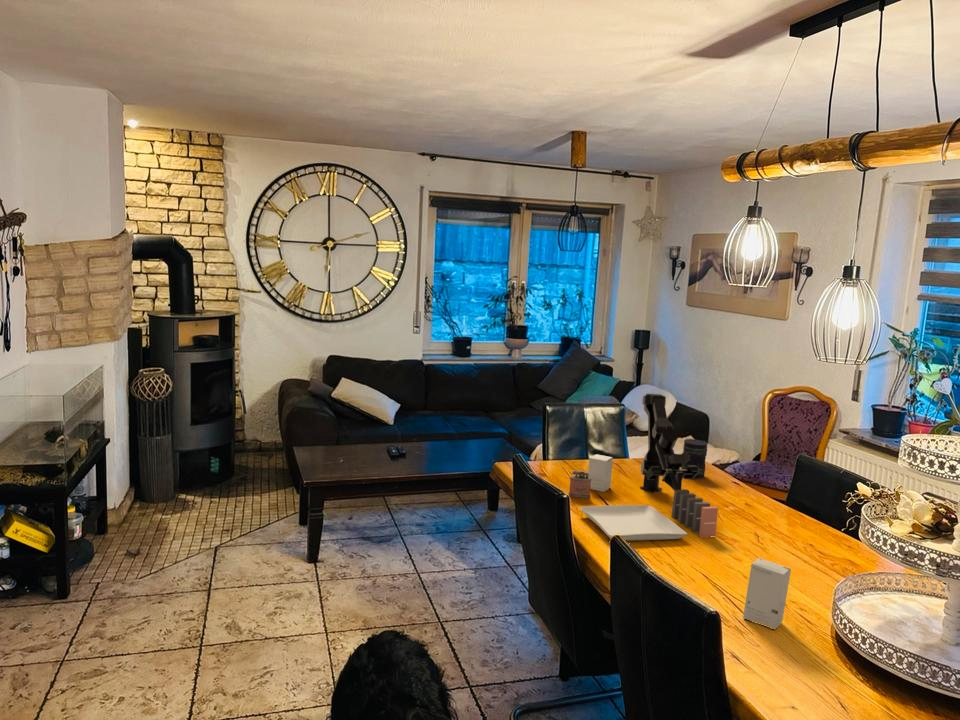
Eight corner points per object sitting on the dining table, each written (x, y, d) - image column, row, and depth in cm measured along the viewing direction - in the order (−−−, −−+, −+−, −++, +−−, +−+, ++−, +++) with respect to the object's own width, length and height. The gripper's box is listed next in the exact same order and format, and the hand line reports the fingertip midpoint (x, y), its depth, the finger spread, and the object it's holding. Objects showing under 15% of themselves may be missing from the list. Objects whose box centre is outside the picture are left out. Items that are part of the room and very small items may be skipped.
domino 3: (684, 526, 241) (687, 497, 240) (697, 525, 242) (700, 497, 241) (687, 527, 240) (689, 499, 238) (700, 527, 241) (703, 499, 240)
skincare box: (742, 619, 177) (748, 563, 175) (751, 611, 181) (757, 556, 179) (777, 632, 171) (783, 573, 169) (784, 623, 176) (791, 566, 174)
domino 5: (698, 536, 233) (701, 506, 231) (712, 535, 234) (715, 506, 233) (701, 538, 231) (704, 508, 230) (715, 537, 232) (718, 508, 231)
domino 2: (677, 521, 246) (680, 493, 244) (690, 520, 247) (693, 493, 246) (680, 523, 244) (682, 495, 243) (693, 522, 245) (695, 494, 244)
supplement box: (611, 488, 280) (613, 457, 278) (603, 492, 274) (606, 460, 272) (593, 484, 284) (596, 453, 282) (586, 488, 278) (588, 457, 276)
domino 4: (691, 531, 237) (694, 502, 236) (704, 530, 238) (707, 501, 237) (694, 532, 235) (697, 504, 234) (707, 532, 237) (710, 503, 235)
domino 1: (671, 516, 250) (674, 489, 248) (684, 516, 251) (687, 489, 250) (673, 518, 248) (676, 491, 247) (686, 518, 250) (689, 491, 248)
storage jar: (707, 479, 299) (710, 445, 297) (684, 478, 299) (687, 444, 298) (700, 472, 309) (703, 439, 307) (678, 471, 309) (681, 438, 307)
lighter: (589, 496, 268) (591, 470, 267) (590, 498, 265) (592, 473, 264) (568, 494, 269) (570, 468, 268) (568, 497, 266) (570, 471, 264)
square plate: (609, 546, 220) (610, 534, 220) (577, 515, 247) (578, 505, 246) (687, 543, 227) (689, 531, 226) (648, 513, 253) (649, 503, 253)
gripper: (652, 444, 250) (665, 483, 241) (699, 443, 255) (713, 482, 246) (640, 459, 259) (652, 498, 249) (685, 459, 263) (699, 497, 254)
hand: (679, 493), depth 249 cm, fingers closed
